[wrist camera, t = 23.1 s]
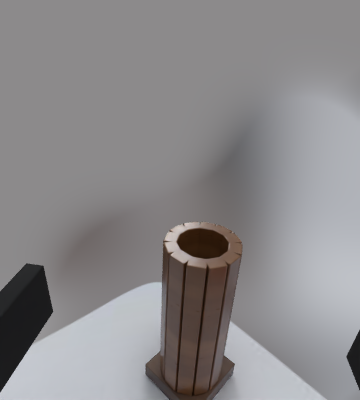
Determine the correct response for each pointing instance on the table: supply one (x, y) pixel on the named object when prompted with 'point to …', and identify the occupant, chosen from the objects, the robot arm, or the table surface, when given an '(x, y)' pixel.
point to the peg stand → (156, 376)
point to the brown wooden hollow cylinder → (197, 303)
